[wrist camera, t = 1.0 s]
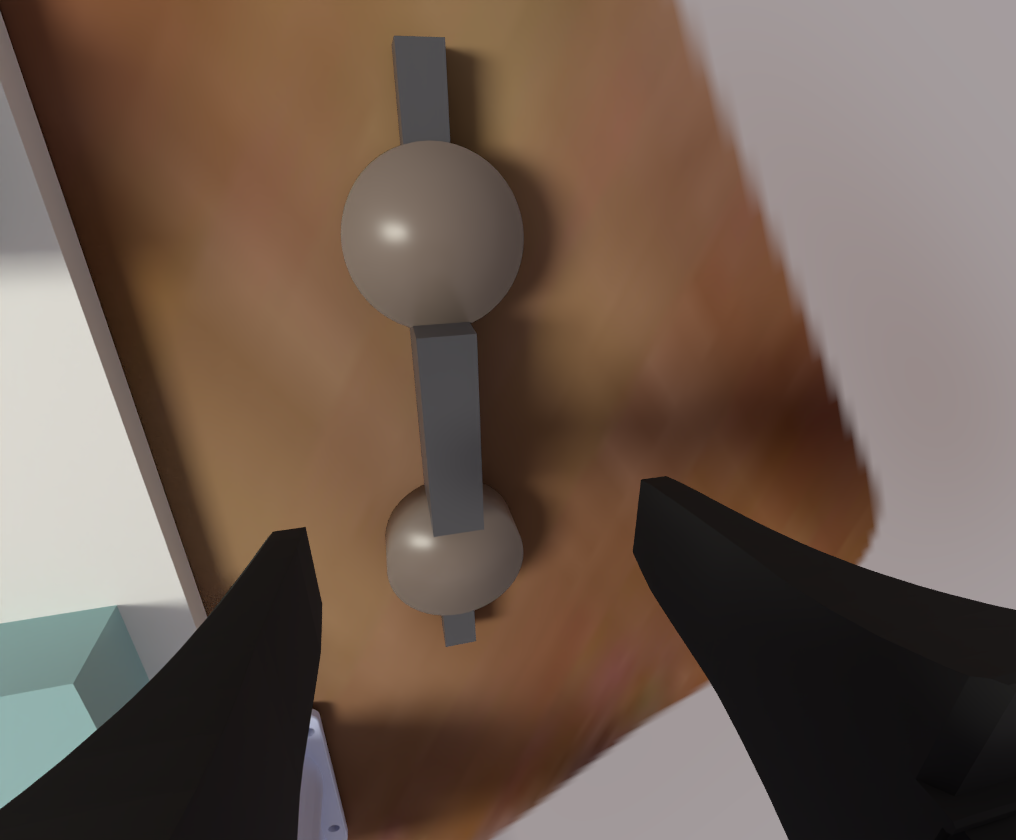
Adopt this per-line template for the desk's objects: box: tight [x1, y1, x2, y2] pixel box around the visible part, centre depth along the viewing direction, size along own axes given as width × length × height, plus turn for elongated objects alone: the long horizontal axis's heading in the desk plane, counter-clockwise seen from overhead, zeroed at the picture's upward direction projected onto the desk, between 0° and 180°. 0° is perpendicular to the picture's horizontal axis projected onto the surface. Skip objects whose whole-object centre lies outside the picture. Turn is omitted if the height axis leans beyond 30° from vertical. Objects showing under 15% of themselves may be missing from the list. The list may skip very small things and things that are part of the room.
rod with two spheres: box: [341, 36, 524, 647], centre depth 17 cm, size 20×5×3 cm, turn 1°
